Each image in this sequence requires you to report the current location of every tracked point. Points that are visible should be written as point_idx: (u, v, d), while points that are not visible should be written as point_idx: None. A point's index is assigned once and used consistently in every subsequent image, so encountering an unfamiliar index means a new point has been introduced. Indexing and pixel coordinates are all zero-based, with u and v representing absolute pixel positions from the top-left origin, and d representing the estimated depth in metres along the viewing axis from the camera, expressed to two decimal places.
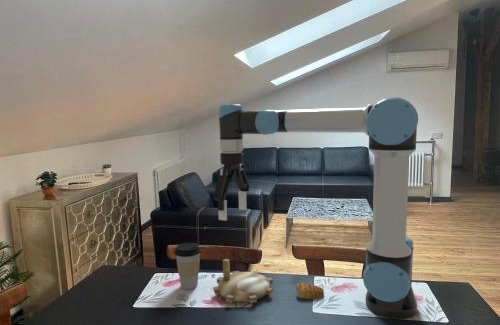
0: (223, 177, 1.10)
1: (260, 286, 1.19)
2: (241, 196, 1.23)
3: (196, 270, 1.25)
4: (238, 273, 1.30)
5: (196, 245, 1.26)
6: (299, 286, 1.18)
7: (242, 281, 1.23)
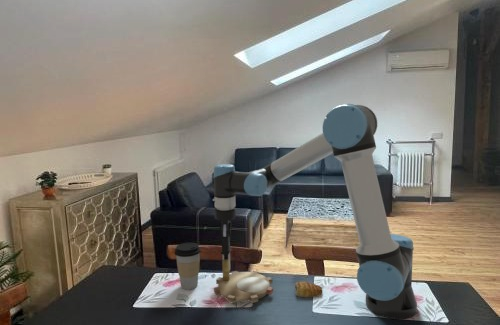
0: (227, 238, 1.21)
1: (260, 286, 1.20)
2: None
3: (196, 270, 1.25)
4: (237, 273, 1.30)
5: (196, 245, 1.26)
6: (298, 285, 1.19)
7: (242, 281, 1.23)
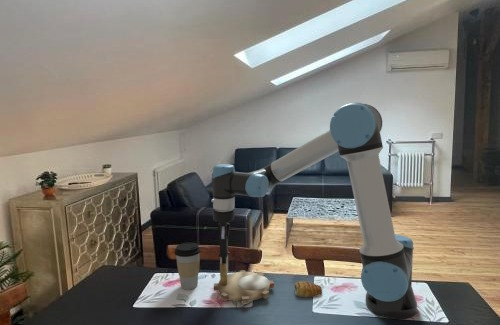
0: (225, 240, 1.18)
1: (262, 281, 1.23)
2: None
3: (196, 270, 1.25)
4: (228, 276, 1.28)
5: (196, 245, 1.26)
6: (298, 284, 1.20)
7: (241, 282, 1.23)
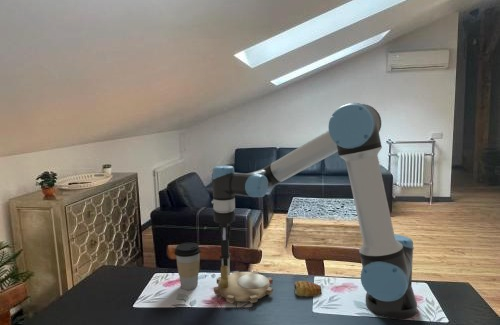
0: (227, 241, 1.18)
1: (261, 279, 1.24)
2: None
3: (196, 270, 1.25)
4: None
5: (196, 245, 1.26)
6: (297, 284, 1.20)
7: (241, 282, 1.23)
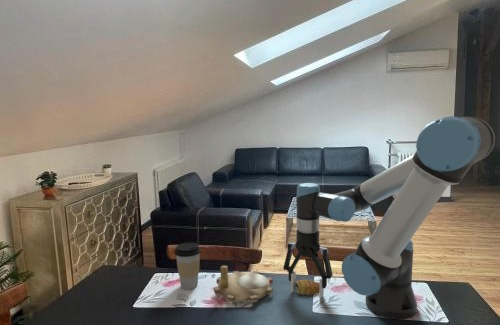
0: None
1: (261, 279, 1.24)
2: None
3: (196, 270, 1.25)
4: None
5: (196, 245, 1.26)
6: (299, 283, 1.21)
7: (241, 282, 1.23)
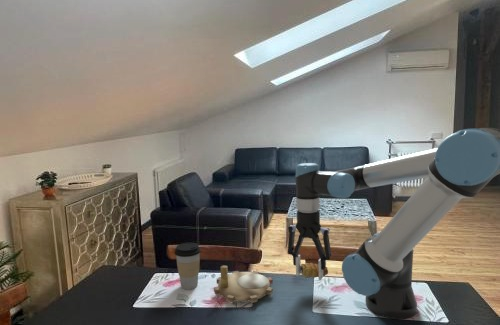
0: None
1: (261, 279, 1.24)
2: None
3: (196, 270, 1.25)
4: None
5: (196, 245, 1.26)
6: (304, 265, 1.19)
7: (241, 282, 1.23)
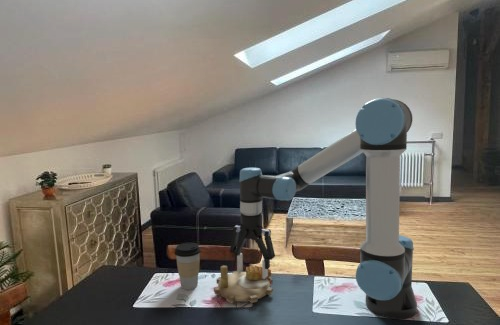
0: None
1: None
2: None
3: (196, 270, 1.25)
4: None
5: (196, 245, 1.26)
6: (248, 269, 1.25)
7: (241, 282, 1.23)
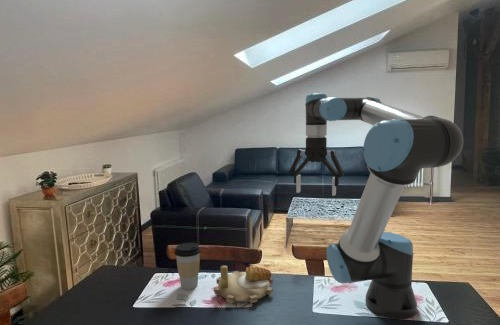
0: (296, 156, 1.31)
1: None
2: None
3: (196, 270, 1.25)
4: None
5: (196, 245, 1.26)
6: (248, 269, 1.25)
7: (241, 282, 1.23)
